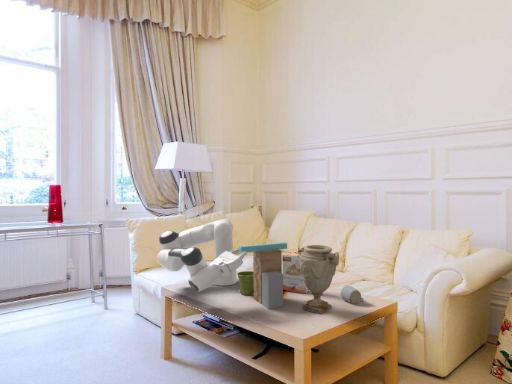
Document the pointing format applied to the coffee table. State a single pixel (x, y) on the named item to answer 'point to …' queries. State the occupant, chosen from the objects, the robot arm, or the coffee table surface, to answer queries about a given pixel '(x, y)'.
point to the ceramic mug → (351, 294)
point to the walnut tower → (265, 268)
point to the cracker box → (292, 274)
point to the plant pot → (246, 282)
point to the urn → (317, 274)
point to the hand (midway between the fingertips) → (242, 250)
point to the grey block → (272, 289)
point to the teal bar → (263, 247)
